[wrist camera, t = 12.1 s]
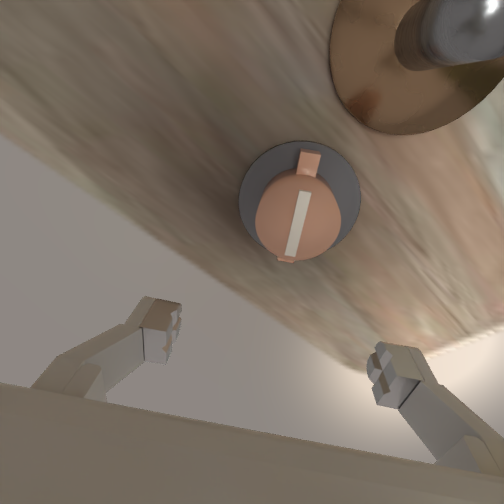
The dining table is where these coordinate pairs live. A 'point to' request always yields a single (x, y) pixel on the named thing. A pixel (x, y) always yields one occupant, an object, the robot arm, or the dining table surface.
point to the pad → (287, 158)
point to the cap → (298, 212)
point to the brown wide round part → (415, 60)
